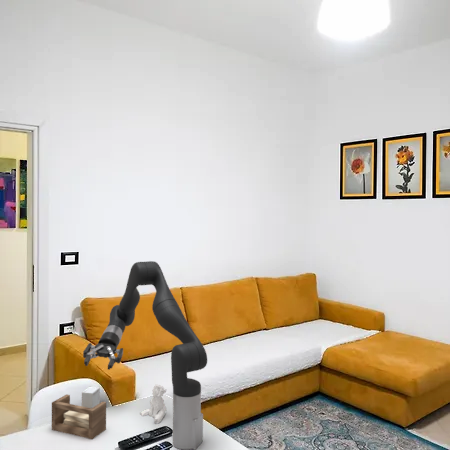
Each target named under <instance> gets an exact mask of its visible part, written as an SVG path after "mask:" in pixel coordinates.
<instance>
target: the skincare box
mask: <svg viewBox="0 0 450 450" xmlns="http://www.w3.org/2000/svg"><path fill="white" fill-rule="evenodd" d="M100 390H101V387H100V386H99V387H98V386H88V387H87V388H86V389H85V390H83V391H82V392H81V406H82V407H87V408H93V407H95V406H96V405H98V404H99V403H101V402H100V401H101V400H100V399H101V398H100V397H101V395H100V394H101V392H100Z"/></svg>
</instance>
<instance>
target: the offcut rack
mask: <svg viewBox="0 0 450 450" xmlns="http://www.w3.org/2000/svg"><path fill="white" fill-rule="evenodd" d="M68 411H74V412H79V413H83V414H88V415H89V430H88V429H83V428H79V427H74V426H70V425H65V424H63V423H64V420H65V418H64V413H66V412H68ZM106 430H107V402H106V401H101V402H100V403H99V404H98V405H96V406H95V407H93V408H87V407H82V405H77V404H72V403H71V394H64V395H63V396H62V397H61V396H60V397H59V398H57V399H55V400H53V401H52V402H51V431H56V432H58V433H59V432H60V433H63V434H69V435H74V436H78V437H80V438H85V439H89V440H94V439H95V438H96V437H98V436H99V435H100V434H102V433H103V432H105V431H106Z"/></svg>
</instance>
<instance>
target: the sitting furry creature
mask: <svg viewBox="0 0 450 450" xmlns="http://www.w3.org/2000/svg"><path fill="white" fill-rule="evenodd" d="M166 392H167V389H165V388H164V386H163V385H160V384H155V385H154V387H153V388H152V398H151V400H150V401H149V404H150V408H147V409H144V410H142V411H141V412H139V415H141V417H145V416H149V417H152V418H154V424H155V425H156V424H157V425H158V424H160V423H161V421H162V420H163V418H164V417H165V415H166V412H167V407H166V404H165V403H164V401H165V400H164V398H163V396H164V394H165V393H166Z"/></svg>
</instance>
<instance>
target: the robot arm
mask: <svg viewBox="0 0 450 450" xmlns="http://www.w3.org/2000/svg"><path fill="white" fill-rule="evenodd" d="M139 286H153V287H154V288H155V295H154V297H153V301H152V307H151V308H152V313H153V315H154V316H155V320H156V321H157V323H158V325H160V327H161V328H162V329H164V331H167V332H168V333H169V334H170V335H172V336H174V337H176V338H177V339H178V340H179V341H180V342H181V344H175V345H174V346H173V348H172V350H171V356H170V364H171V367H170V368H171V382H172V445H173V447H175V448H176V449H179V450H197V448H198V447H199V446H200V445H201V444H202V443H203V438H204V433H203V431H204V430H203V429H204V427H203V426H204V414H203V413H202V412H201V411H202V407H201V406H202V405H201V403H202V400H201V399H202V385H201V383H200V382H199V381H198V380H197V379H195V378H191V377H188V373H191V372H195V371H201V370H202V369H205V367H207V365H208V355H207V351H206V349H205V346H204V345H203V343H202V342H201V340H200V339H199V338H198V336H197V334H196V333H195V332H194V330H193V329H192V327H191V326H190V324H189V323H188V320H187V319H186V317H185V315H184V312H183V311H182V309H181V307H180V305H179V304H178V303H179V302H177V300H176V299H175V297H174V295H173V293H172V290H171V289H170V287H169V285H168V283H167V280H166V277H165V275H164V273H163V270H162V268H161V266H160V264H158V262H157V261H151V260H149V261H137V262H135V263H133V265H132V266H131V267H130V272H129V275H128V279H127V283H126V286H125V291H124V294H123V296H122V298H121V300H120V301H119V304H116V305H114V306H113V307H112V308H111V310H110V312H109V322H108V324H107V326H106V328H105V329H104V331H103V333H102V335H101V337H100V338H99V339H98V340H99V341H97V342H98V343H97V344H95V345H93V344H92V343H91V342H89V343H87V345H86V347H85V349H84V350H83V352H82V355H83V356H82V357H83V358H84V363H83V364H84V366H85V367H88V365H89V363H90V362H91V360H92V359H95V358H98V357H99V358H104V359H107V358H108V360H109V362H108V364H107V370H108V371H109V370H111V369H113V367H114V365H115V364H116V363H117V364H120V363H121V361H122V358H123V355H124V348H120V349H119V348H118V346H119V345H120V344H121V343H120V342H121V340H122V338H123V335H124V332H125V330H126V327H128V326H131V325H132V324H133V322H134V320H135V317H136V316H135V315H136V309H137V306H138V305H139V303H140V300H141V295H140V292H139V290H138V287H139ZM117 348H118V349H117ZM115 354H117V357H116V356H115Z"/></svg>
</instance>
